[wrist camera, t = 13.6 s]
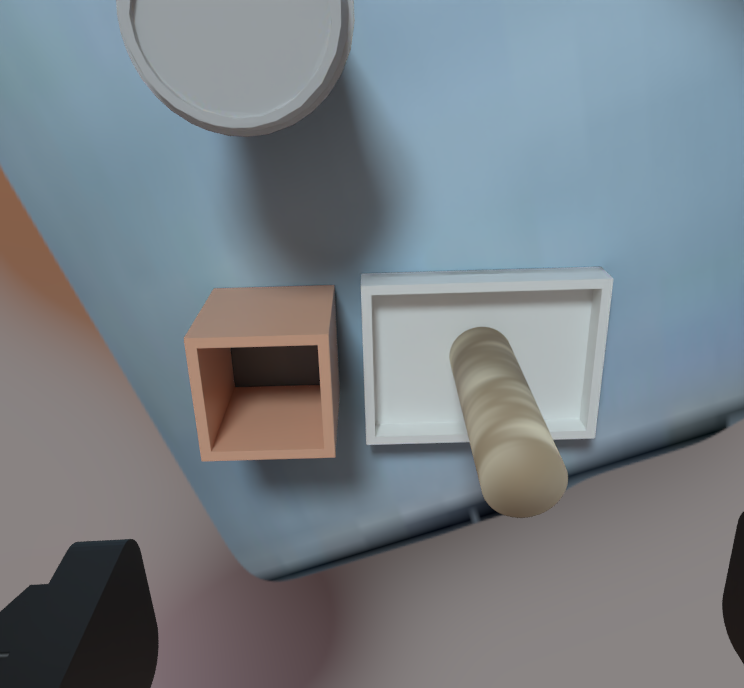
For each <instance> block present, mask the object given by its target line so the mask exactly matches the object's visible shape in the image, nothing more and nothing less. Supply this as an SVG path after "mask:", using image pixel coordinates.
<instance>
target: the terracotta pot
mask: <svg viewBox="0 0 744 688" xmlns="http://www.w3.org/2000/svg"><path fill="white" fill-rule="evenodd" d="M184 344H185V351H186V357H187V364H188V371H189V378H190V385H191V392H192V398H193V405H194V412H195V419H196V426H197V432H198V439H199V446H200V453H201V460H202V461H230V460H265V459H300V458H335V456H336V441H337V427H338V412H339V398H340V384H339V365H338V345H337V326H336V306H335V286H334V285H317V286H282V287H247V288H214V289H213V291H212V292H211V294H210V296H209V297H208V299H207V301H206V302H205V304H204V306H203V307H202V309H201V311H200V312H199V314H198V315H197V317H196V319H195V320H194V322H193V324H192V325H191V327H190V329H189V330H188V332H187V334H186V335H185V337H184ZM301 345H318V358H319V374H320V385H296V386H261V387H235V383H234V374H233V366H232V357H231V349H230V348H231V347H266V346H301Z"/></svg>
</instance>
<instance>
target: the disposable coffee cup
mask: <svg viewBox="0 0 744 688" xmlns="http://www.w3.org/2000/svg"><path fill="white" fill-rule="evenodd" d="M116 5H117V16H118V21H119V26H120V31H121V35H122V38H123V41H124V44H125V47H126V49H127V52H128V54H129V56H130V59H131V61H132V63H133V65H134V66H135V68H136V70H137V72H138V73H139V75H140V77H141V78H142V80H143V81H144V82H145V84H146V85H147V86H148V87H149V88H150V90H151V91H152V92H153V93H154V95H155V96H156V97H157V98H158V99H159V100H160V101H161V102H163V103H164V104H165V105H166V106H167V107H168V108H169V109H170V110H171V111H173V112H174V113H176V114H178V115H179V116H181V117H182V118H184V119H185V120H187V121H188V122H190V123H191V124H194V125H196V126H199V127H201V128H203V129H206V130H208V131H212V132H216V133H220V134H224V135H228V136H244V137H249V136H257V135H266V134H270V133H273V132H276V131H278V130H281V129H284V128H286V127H289V126H292V125H294V124H296V123H297V122H298V121H300V120H301V119H303V118H304V117H306V116H307V115H309V114H310V113H311V112H313V111H314V110H315V109H316V108H317V107H318V106H319V105H320V104H321V103H322V102H323V101H324V100H325V99H326V97H327V96H328V95H329V93H330V92H331V90H332V89H333V87H334V86H335V84H336V82H337V81H338V79H339V77H340V76H341V74H342V71H343V69H344V66H345V63H346V60H347V58H348V55H349V52H350V50H351V43H352V36H353V28H354V21H355V20H354V1H353V0H116Z"/></svg>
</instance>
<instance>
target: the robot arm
mask: <svg viewBox="0 0 744 688" xmlns="http://www.w3.org/2000/svg"><path fill="white" fill-rule="evenodd" d="M722 601H723V602H722V609H723V618H724V623H725V627H726V630H727V634H728V636H729V639H730V641H731V643H732V645H733V647H734V649H735V651H736V652H737V654H738V656H739V657H740V659H741V660H742V662H743V664H744V512H743V513H742V514H741V516H740V518H739V520H738V524H737V529H736V534H735V539H734V544H733V549H732V554H731V558H730V564H729V569H728V573H727V579H726V584H725V588H724V593H723V600H722ZM157 657H158V627H157V622H156V617H155V613H154V609H153V604H152V600H151V595H150V591H149V586H148V582H147V577H146V573H145V569H144V564H143V560H142V555H141V551H140V548H139V546H138V544H137V542H136V541H135V540H133V539H125V540H105V541H86V542H75V543H74V544H72V545H71V546H70V547H69V549H68V550H67V552H66V554H65V556H64V557H63V559H62V561H61V563H60V564H59V566H58V568H57V570H56V572H55V573H54V575H53V577H52V579H51V580H50V582H49V584H41V585H30V586H29V587H28V588H26V589H25V590H24V591H23V592H22V593H21V594H20V595H19V596H17V597H16V598H15V599H14V600H13V601H12V602H11V603H10V604H8V605H7V606H6V607H5V608H4V609H3V610H2V611H1V612H0V688H150V687H151V684H152V681H153V678H154V674H155V670H156V665H157Z"/></svg>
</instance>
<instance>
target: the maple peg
mask: <svg viewBox="0 0 744 688" xmlns="http://www.w3.org/2000/svg"><path fill="white" fill-rule="evenodd" d="M449 359H450V364H451V368H452V372H453V376H454V380H455V385H456V389H457V393H458V397H459V401H460V405H461V409H462V413H463V417H464V421H465V425H466V429H467V433H468V437H469V441H470V445H471V449H472V453H473V457H474V461H475V466H476V470H477V474H478V478H479V482H480V486H481V490H482V494H483V496H484V498H485V500H486V502H487V503H488V504H489V505H490V506H491V507H492V508H493V509H494V510H495V511H497V512H499V513H501V514H503V515H506V516H510V517H517V518H525V517H532V516H535V515H539V514H541V513H544V512H545V511H547V510H549V509H550V508H552V507H553V506H554V505H555V504H556V503H557V502H558V501H559V500H560V499H561V498H562V496H563V494H564V492H565V490H566V487H567V483H568V474H567V470H566V467H565V465H564V463H563V460H562V458H561V456H560V454H559V452H558V449H557V447H556V445H555V443H554V441H553V438H552V436H551V434H550V432H549V430H548V427H547V425H546V423H545V421H544V419H543V416H542V414H541V412H540V410H539V407H538V405H537V403H536V401H535V399H534V396H533V394H532V392H531V390H530V388H529V385H528V383H527V381H526V379H525V377H524V374H523V372H522V370H521V368H520V366H519V363H518V361H517V359H516V357H515V355H514V352H513V350H512V348H511V346H510V344H509V341H508V340H507V338H506V337H505V336H504V335H503V334H502V333H501V332H499V331H498V330H495V329H493V328H490V327H475V328H472V329H469V330H467V331H465V332H463V333H462V334H461V335H459V336H458V337H457V338H456V340H455V341H454V342H453V344H452V346H451V349H450V355H449Z"/></svg>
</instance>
